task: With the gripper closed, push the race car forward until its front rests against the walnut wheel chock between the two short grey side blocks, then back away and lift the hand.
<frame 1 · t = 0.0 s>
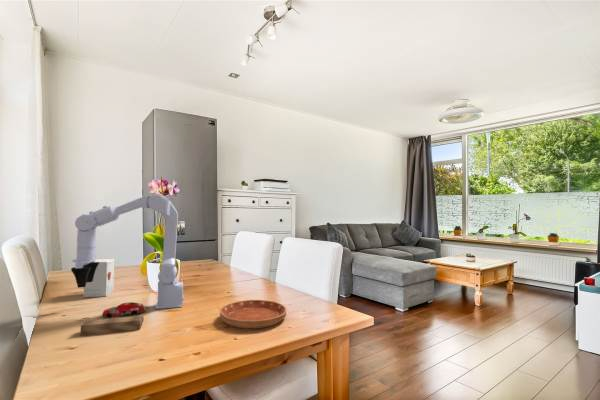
hand: (85, 284, 113), 10 cm above the table, tool pointing down, fingers open, 7 cm apart
chock stand: (112, 330, 97), on the table
race car: (123, 315, 111), on the table
supplement box: (99, 294, 136), on the table
saucer: (253, 320, 108), on the table
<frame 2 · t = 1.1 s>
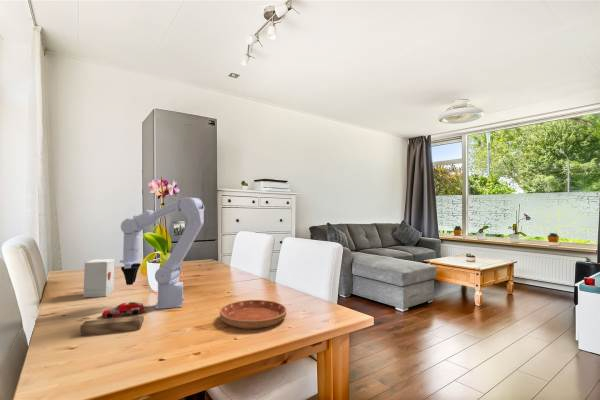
hand: (130, 283, 122), 8 cm above the table, tool pointing down, fingers open, 3 cm apart
nothing on the table moved.
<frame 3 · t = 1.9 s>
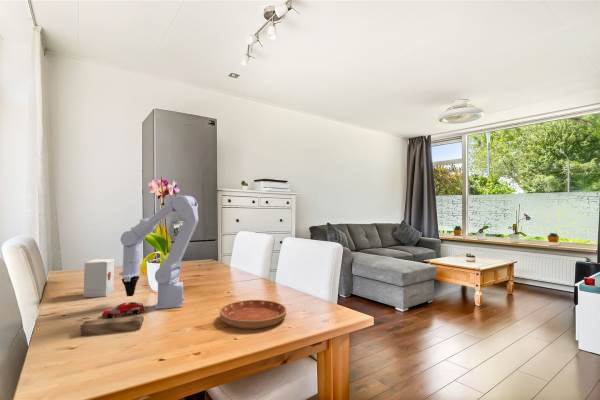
hand: (130, 295, 122), 4 cm above the table, tool pointing down, fingers closed
nothing on the table moved.
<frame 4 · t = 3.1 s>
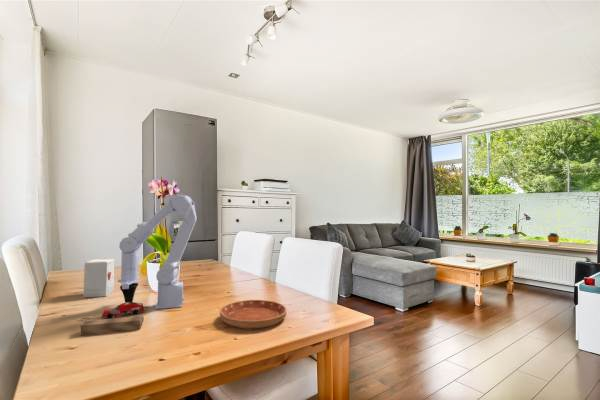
hand: (128, 303, 119), 1 cm above the table, tool pointing down, fingers closed
nothing on the table moved.
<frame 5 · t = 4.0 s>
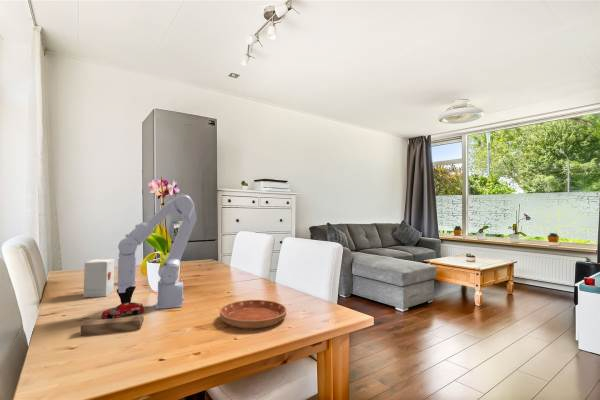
hand: (125, 307, 114), 1 cm above the table, tool pointing down, fingers closed
race car: (123, 315, 111), on the table, touching gripper
everything else where it was.
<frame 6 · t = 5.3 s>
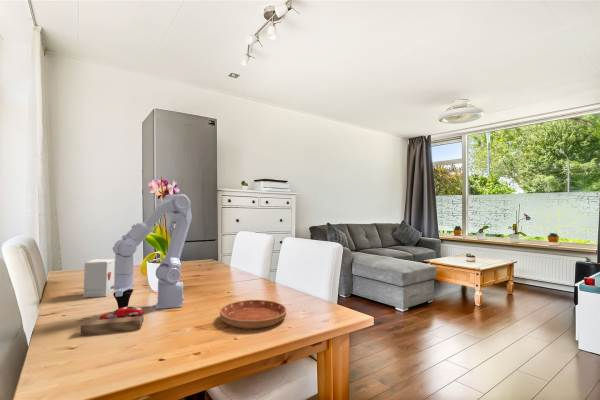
hand: (123, 311, 110), 1 cm above the table, tool pointing down, fingers closed
race car: (121, 320, 106), on the table
everything else where it was.
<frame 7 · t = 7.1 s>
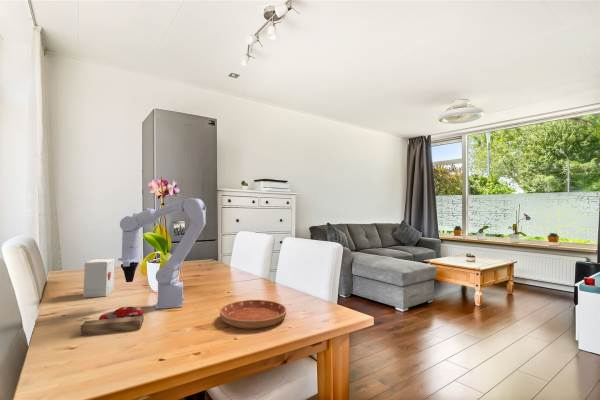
hand: (129, 281, 120), 9 cm above the table, tool pointing down, fingers closed
nothing on the table moved.
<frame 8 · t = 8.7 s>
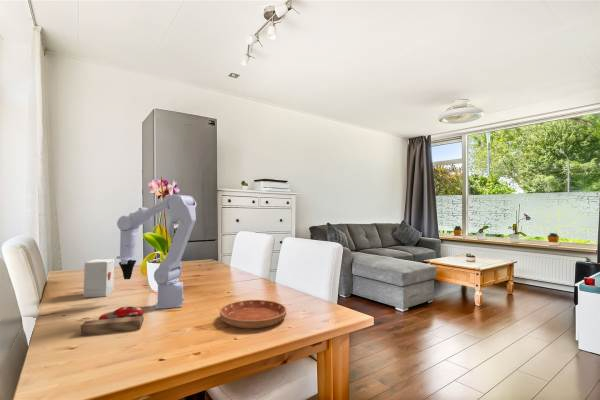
hand: (127, 278, 125), 9 cm above the table, tool pointing down, fingers closed
nothing on the table moved.
at the end: race car 0.4 cm from the target spot on the table beside the chock stand, on the table; race car moved 5.3 cm from its start; race car tilted 0° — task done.
